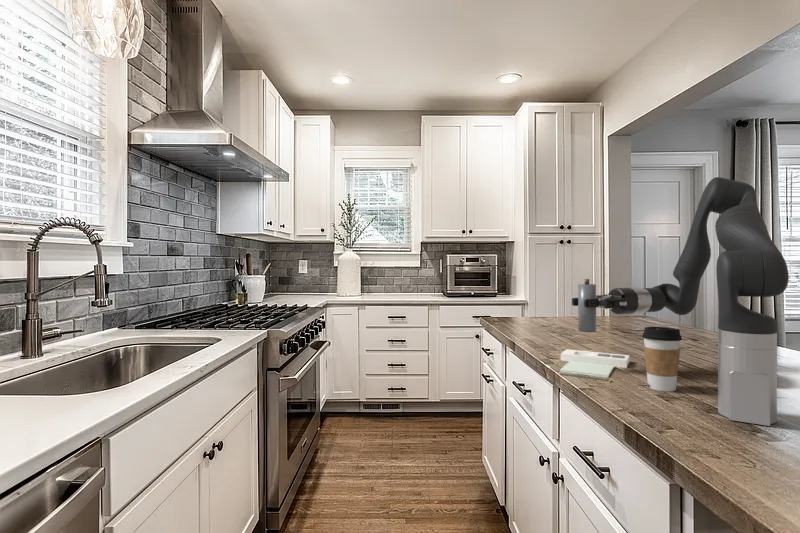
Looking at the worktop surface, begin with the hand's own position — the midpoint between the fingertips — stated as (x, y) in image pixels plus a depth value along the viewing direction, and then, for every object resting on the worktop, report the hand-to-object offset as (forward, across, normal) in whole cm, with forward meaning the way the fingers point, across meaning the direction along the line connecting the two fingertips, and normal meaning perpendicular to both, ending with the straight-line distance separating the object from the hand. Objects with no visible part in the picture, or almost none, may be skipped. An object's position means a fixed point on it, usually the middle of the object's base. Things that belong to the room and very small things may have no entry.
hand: (578, 302), depth 121 cm
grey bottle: (-3, 0, +8) cm, 8 cm away
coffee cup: (-10, +17, +20) cm, 28 cm away
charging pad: (-3, 0, +20) cm, 20 cm away
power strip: (-14, -6, +20) cm, 25 cm away
